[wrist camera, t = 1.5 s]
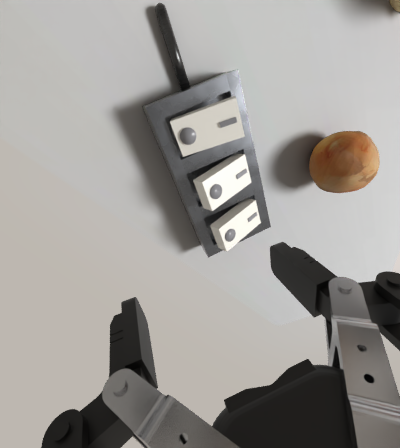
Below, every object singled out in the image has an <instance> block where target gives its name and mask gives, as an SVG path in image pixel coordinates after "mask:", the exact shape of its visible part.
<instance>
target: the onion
mask: <svg viewBox="0 0 400 448" xmlns="http://www.w3.org/2000/svg"><path fill="white" fill-rule="evenodd" d="M379 163H380V161H379V153H378V150H377V147H376V146H375V144H374V143H373V141H372V139H371V138H370V137H369V136H368V135H367V134H365V133H363V132H360V131H344V132H337V133H334V134H332V135H330V136H328V137H326V138H324V139H323V140H322V141H320V142H319V143H318V144H317V145H316V146H315V148H314V150H313V152H312V154H311V157H310V162H309V171H310V175H311V177H312V179H313V180H314V182H315V183H316V185H317V186H318V187H319V188H320V189H322V190H324V191H327V192H333V193H344V192H351V191H356V190H359V189H361V188H363V187H365V186H366V185H367V184H368V183H369V182H370V181H371V180H372V179H373V178H374V177H375V176H376V174H377V171H378V168H379Z"/></svg>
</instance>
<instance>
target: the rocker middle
mask: <svg viewBox="0 0 400 448" xmlns="http://www.w3.org/2000/svg"><path fill="white" fill-rule="evenodd" d="M193 182H194V184H195V187H196V190H197V192H198V195H199V198H200V200H201V203H202V206H203V208H205V209H208V210H210V211H213V210H215V209H216V208H217V207H219V206H220V205H222V204H223V203H224V202H226V201H227V200H228V199H230V198H231V197H232V196H234V195H235V194H236V193H238V192H239V191H241V190H242V189H243V188H245V187H246V186H247V185H249V184H250V183H251V178H250V174H249V169H248V165H247V161H246V156H245V154H233V155H232V156H230V157H229V158H227V159H226V160H224V161H222V162H221V163H219V164H218V165H216V166H215V167H213V168H212V169H210V170H208V171H207V172H205V173H204V174H202V175H201V176H199V177H197V178H196V179H194V180H193Z"/></svg>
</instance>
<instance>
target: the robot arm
mask: <svg viewBox="0 0 400 448" xmlns="http://www.w3.org/2000/svg"><path fill="white" fill-rule="evenodd" d="M270 258H271V269H272V271H273V273H274V275H275V276H276V277H277V278H278V279H279V280H280V281H281V283H282V284H283V285H284V286H285V287H286V288H287V289H288V290H289V291H290V292H291V293H292V294H293V295H294V296H295V298H296V299H297V300H298V301H299V302H300V303H301V304H302V305H303V306H304V307H305V308H306V309H307V310H308V311H309V312H310V314H311V315H312V316H313V317H316V316H319V315H321V314H322V315H323V316H324V317H325V330H326V340H327V349H328V366H327V365H312V364H311V362H310V361H309V359H307V360H304V361H302V362H300V363H298V364H296V365H294V366H292V367H290V368H288V369H287V370H286V371H285V372H284V373H283V374H282V375H281V376H280V377H279V378H278V379H277V380H276V381H275V382H274V383H273V384H271V385H269V386H263V387H257V388H250V389H245V390H243V391H241V392H239V393H237V394H235V395H233V396H231V397H229V398H227V399H225V400H224V402H225V405H226V408H225V409H224V410H223V411H222V412H221V413H220V414H219V416H218V417H217V418H216V420H215V422H214V423H213V426H211V425H209V424H208V423H207V422H205V421H204V420H202V419H201V418H200V417H199V416H197V415H196V414H195V413H193V412H192V411H191V410H189V409H188V408H187V407H185V406H184V405H183V404H181V403H180V402H179V401H177V400H176V399H175V398H173V397H172V396H169V395H167V396H165V395H163V394H162V393H161V392H159V391H158V390H157V388H158V386H157V380H156V373H155V367H154V360H153V354H152V348H151V342H150V336H149V329H148V324H147V320H146V317H145V315H144V313H143V311H142V308H141V306H140V304H139V302H138V300H137V298H136V297H134V298H131V299H129V300H126V301H123V302H122V313H120V314H118V315H115V316H114V318H113V320H112V322H111V325H110V373H109V379H108V380H107V382H106V383H105V386H104V388H103V391H102V393H101V394H100V395H99V396H98V397H97V398H96V399H94V400H93V401H92V402H91V403H90V404H88V405H87V406H86V407H85V408H83V409H82V410H81V411H80V412H79V411H78V410H75V409H71V410H67V411H65V412H63V413H61V414H60V415H59V416H58V417H57V418H55V420H54V421H53V422H52V423H51V424H50V426H49V427H48V429H47V431H46V433H45V435H44V438H43V442H42V447H41V448H121V447H122V446H123V445H124V444H125V443H126V442H127V441H128V440H129V439H130V438H131V437H132V436H133V437H134V438H135V439H136V440H137V441H138V442H139V443H140V444H141V445H142V446H143V447H144V448H400V396H399V393H398V390H397V387H396V383H395V381H394V377H393V374H392V370H391V367H390V364H389V360H388V357H387V354H386V351H385V347H384V344H383V341H382V338H381V335H380V333H381V334H382V335H384V336H385V337H386V338H387V339H388V340H389V341H390V342H391V343H392V344H393V345H394V346H395V347H396V348H397V349H399V350H400V274H399V273H395V272H382V273H379V274H378V275H377V276H376V280H375V281H371V282H362V283H357V282H356V281H354V280H352V279H349V278H346V277H337V276H336V275H334V274H333V273H332V272H330V271H329V270H328V269H327V268H325V267H324V266H323V265H321V264H320V263H319V262H318V261H316V260H315V259H314V258H312V257H310V255H309V254H307V253H306V252H305V251H303V250H301V249H298V248H296V247H293V248H291V247H289V246H288V245H287V244H286V243H284V242H281V243H278V244H276V245H273V246H271V247H270Z"/></svg>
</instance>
